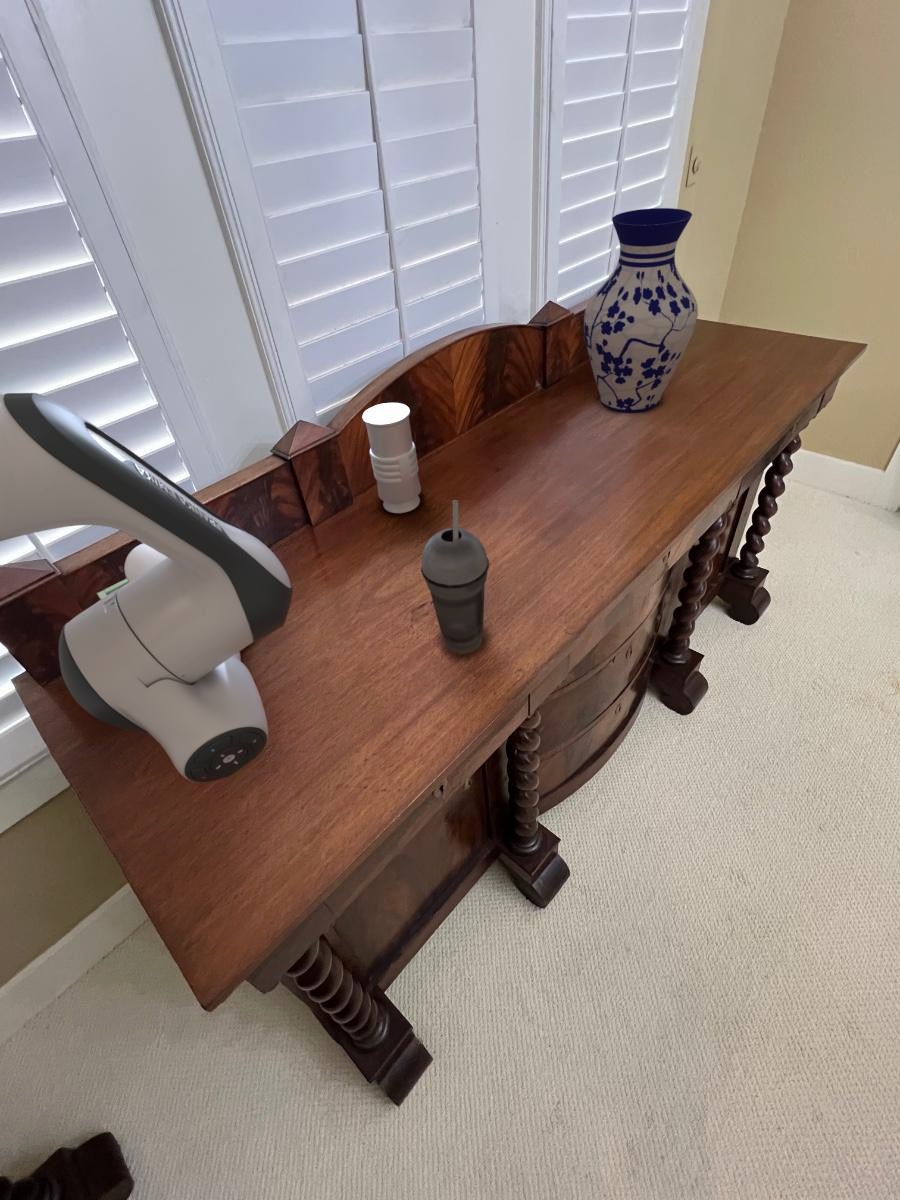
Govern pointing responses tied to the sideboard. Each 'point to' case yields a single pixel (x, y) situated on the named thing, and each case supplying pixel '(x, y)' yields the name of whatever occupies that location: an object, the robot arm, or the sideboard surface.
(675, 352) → the vase
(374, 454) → the white ribbed cylinder
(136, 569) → the lightbulb
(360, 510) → the sideboard surface
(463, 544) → the beverage cup
